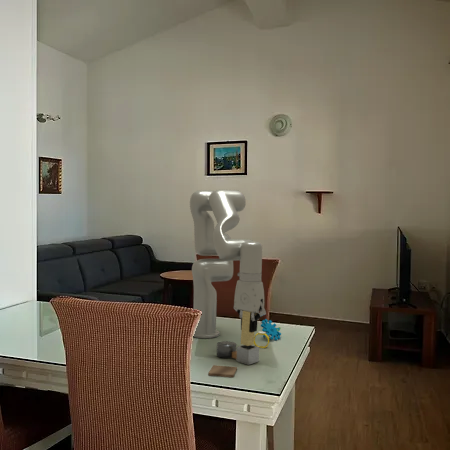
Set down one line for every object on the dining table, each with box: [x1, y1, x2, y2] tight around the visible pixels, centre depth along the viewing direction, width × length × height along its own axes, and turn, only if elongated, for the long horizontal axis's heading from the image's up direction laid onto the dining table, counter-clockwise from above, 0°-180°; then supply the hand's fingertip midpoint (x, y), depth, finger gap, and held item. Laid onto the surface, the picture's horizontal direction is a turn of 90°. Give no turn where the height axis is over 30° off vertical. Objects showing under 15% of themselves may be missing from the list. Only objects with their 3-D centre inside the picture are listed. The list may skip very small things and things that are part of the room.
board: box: [207, 364, 238, 378], centre depth 156 cm, size 8×8×1 cm
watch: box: [254, 330, 270, 349], centre depth 186 cm, size 6×3×6 cm, turn 77°
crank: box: [216, 340, 260, 366], centre depth 171 cm, size 16×7×5 cm, turn 46°
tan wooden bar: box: [240, 311, 255, 346], centre depth 167 cm, size 3×3×12 cm
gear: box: [260, 318, 282, 342], centre depth 200 cm, size 11×6×10 cm
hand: (248, 330), depth 168 cm, fingers closed on tan wooden bar, 3 cm apart
